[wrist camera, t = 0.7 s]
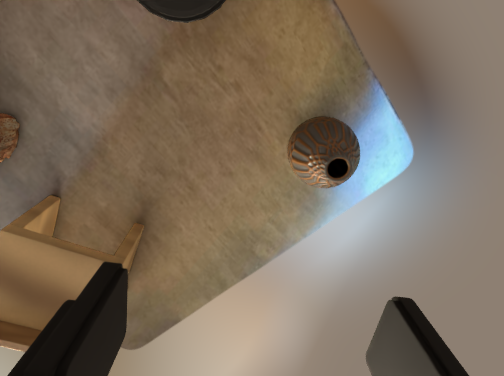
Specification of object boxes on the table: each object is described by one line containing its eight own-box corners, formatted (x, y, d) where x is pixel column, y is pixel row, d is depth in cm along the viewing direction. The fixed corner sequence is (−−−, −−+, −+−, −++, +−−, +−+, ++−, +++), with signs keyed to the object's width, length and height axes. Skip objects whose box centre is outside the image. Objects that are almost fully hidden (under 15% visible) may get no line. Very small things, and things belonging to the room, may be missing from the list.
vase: (345, 168, 35) (377, 199, 27) (286, 176, 35) (300, 210, 27) (344, 107, 32) (380, 122, 24) (280, 116, 33) (294, 134, 24)
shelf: (50, 194, 35) (-18, 242, 26) (144, 225, 37) (113, 279, 28) (34, 274, 39) (-29, 340, 30) (120, 297, 41) (86, 366, 32)
